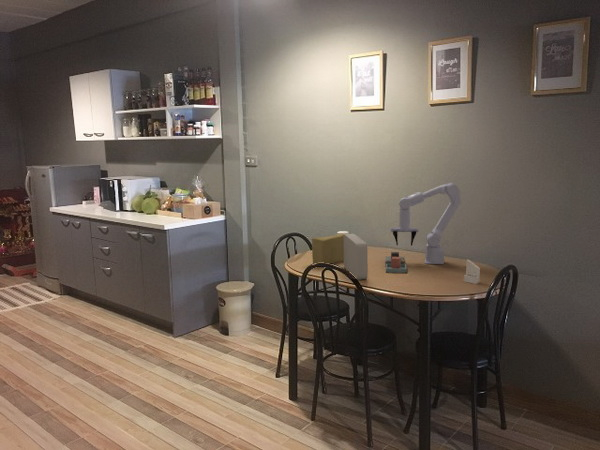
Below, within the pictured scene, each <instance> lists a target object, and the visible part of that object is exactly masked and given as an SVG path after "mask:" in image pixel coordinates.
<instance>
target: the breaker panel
mask: <svg viewBox="0 0 600 450" xmlns="http://www.w3.org/2000/svg"><path fill="white" fill-rule="evenodd" d="M400 257H401V264H406V261H405V256H400ZM386 264H391V256H385V261H384V265H385V268H386Z"/></svg>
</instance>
